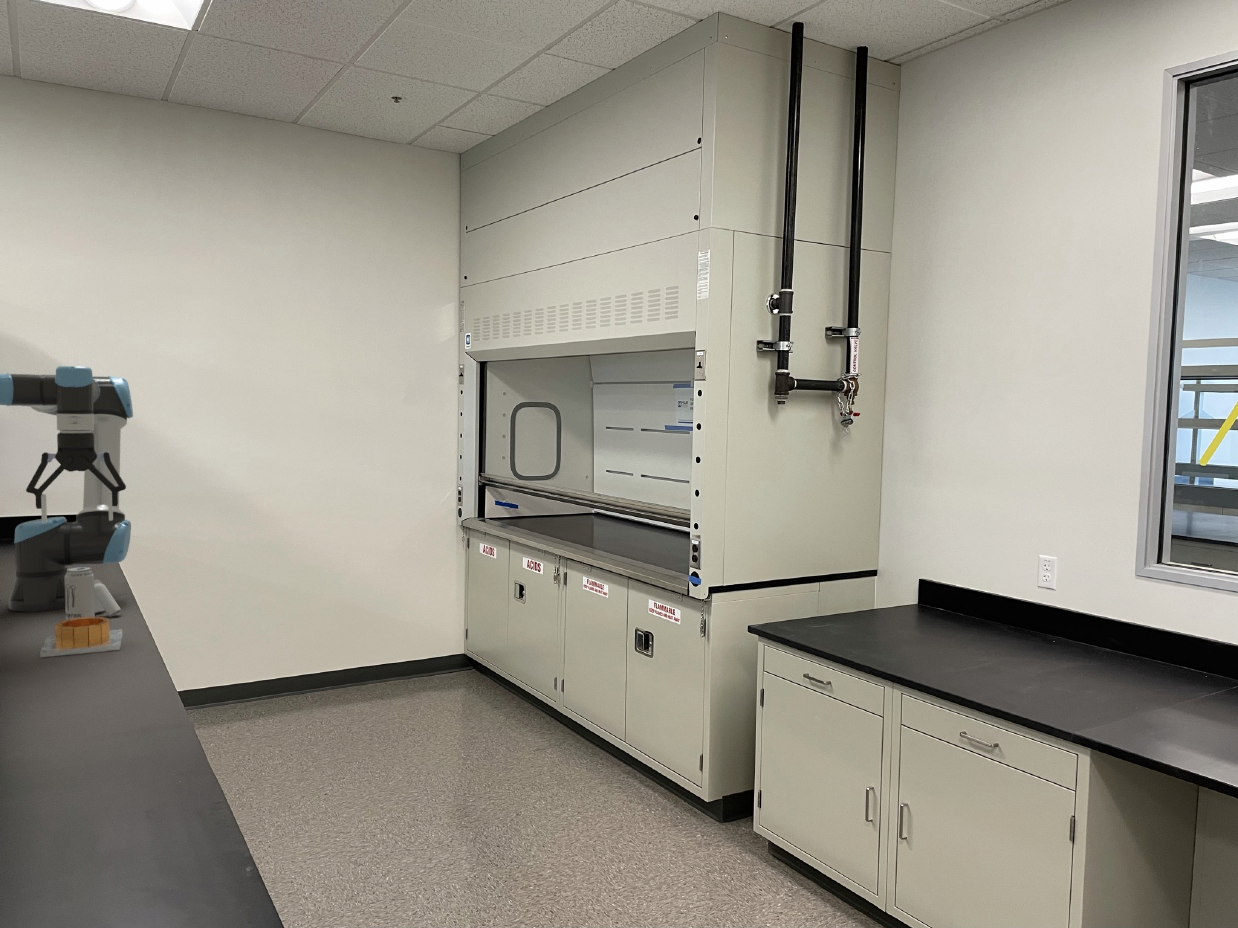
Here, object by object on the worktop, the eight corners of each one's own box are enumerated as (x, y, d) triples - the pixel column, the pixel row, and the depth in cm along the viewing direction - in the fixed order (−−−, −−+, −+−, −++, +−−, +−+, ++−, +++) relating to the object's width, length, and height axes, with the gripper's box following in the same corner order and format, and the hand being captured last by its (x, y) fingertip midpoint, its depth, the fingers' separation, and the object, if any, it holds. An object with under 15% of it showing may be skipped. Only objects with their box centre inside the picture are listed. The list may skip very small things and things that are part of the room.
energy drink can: (60, 632, 216) (58, 569, 215) (83, 626, 221) (81, 565, 220) (78, 634, 213) (76, 571, 212) (101, 629, 219) (99, 567, 218)
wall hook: (108, 618, 228) (99, 579, 227) (74, 625, 230) (65, 586, 230) (131, 611, 236) (123, 573, 235) (98, 618, 238) (90, 580, 238)
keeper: (47, 640, 208) (47, 618, 208) (122, 634, 215) (121, 612, 214) (40, 657, 195) (39, 633, 194) (119, 649, 201) (119, 626, 201)
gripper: (10, 432, 205) (13, 525, 206) (135, 432, 216) (137, 520, 218) (14, 431, 212) (17, 521, 213) (135, 431, 223) (137, 516, 224)
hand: (78, 521), depth 215 cm, fingers open, 13 cm apart
